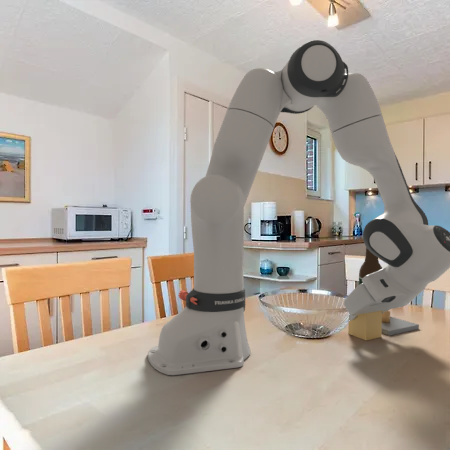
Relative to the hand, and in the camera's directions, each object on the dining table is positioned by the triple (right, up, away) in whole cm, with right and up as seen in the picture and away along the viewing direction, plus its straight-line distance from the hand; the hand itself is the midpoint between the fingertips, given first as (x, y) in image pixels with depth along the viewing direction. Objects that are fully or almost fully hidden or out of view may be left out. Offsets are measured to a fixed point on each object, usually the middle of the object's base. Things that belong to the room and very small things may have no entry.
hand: (363, 315), depth 90 cm
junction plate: (+9, -5, +8) cm, 13 cm away
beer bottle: (+12, -5, +24) cm, 27 cm away
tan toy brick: (0, -5, 0) cm, 5 cm away
